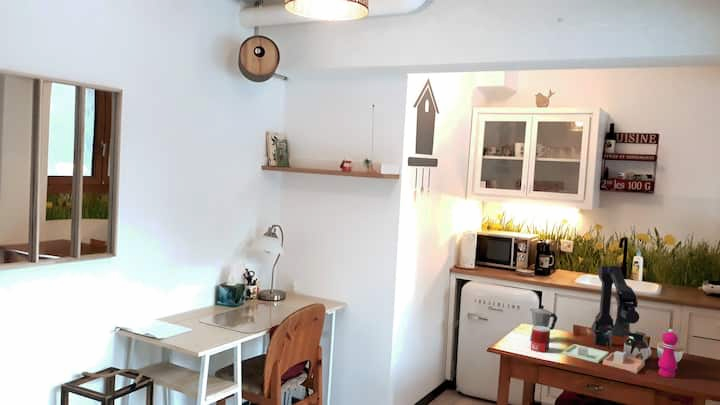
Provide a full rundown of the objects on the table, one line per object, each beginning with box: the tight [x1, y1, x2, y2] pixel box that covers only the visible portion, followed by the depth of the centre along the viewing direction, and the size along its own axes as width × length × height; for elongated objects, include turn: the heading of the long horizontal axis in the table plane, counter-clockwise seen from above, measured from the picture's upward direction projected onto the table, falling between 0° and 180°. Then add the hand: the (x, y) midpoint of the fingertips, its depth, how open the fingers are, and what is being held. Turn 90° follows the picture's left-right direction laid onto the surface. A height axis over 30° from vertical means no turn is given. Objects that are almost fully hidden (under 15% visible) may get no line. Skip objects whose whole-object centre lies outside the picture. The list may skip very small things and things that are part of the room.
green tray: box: [561, 344, 610, 364], centre depth 276 cm, size 16×16×2 cm
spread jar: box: [623, 336, 652, 361], centre depth 275 cm, size 12×11×12 cm
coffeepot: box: [529, 305, 558, 341], centre depth 294 cm, size 15×9×18 cm, turn 37°
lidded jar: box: [656, 341, 685, 363], centre depth 273 cm, size 11×11×9 cm
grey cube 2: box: [578, 345, 590, 357], centre depth 273 cm, size 4×4×4 cm
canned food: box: [530, 325, 551, 353], centre depth 279 cm, size 8×8×11 cm
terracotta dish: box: [602, 352, 646, 375], centre depth 265 cm, size 14×14×2 cm
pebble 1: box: [613, 350, 626, 364], centre depth 268 cm, size 4×4×4 cm
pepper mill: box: [657, 328, 679, 378], centre depth 255 cm, size 7×7×20 cm
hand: (620, 351), depth 268 cm, fingers open, 9 cm apart
